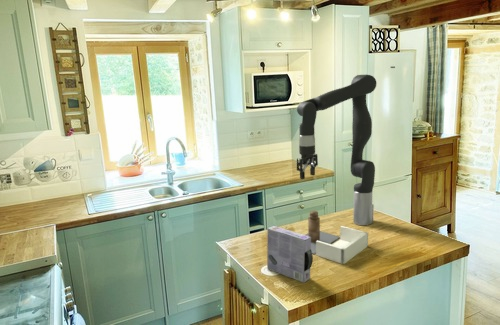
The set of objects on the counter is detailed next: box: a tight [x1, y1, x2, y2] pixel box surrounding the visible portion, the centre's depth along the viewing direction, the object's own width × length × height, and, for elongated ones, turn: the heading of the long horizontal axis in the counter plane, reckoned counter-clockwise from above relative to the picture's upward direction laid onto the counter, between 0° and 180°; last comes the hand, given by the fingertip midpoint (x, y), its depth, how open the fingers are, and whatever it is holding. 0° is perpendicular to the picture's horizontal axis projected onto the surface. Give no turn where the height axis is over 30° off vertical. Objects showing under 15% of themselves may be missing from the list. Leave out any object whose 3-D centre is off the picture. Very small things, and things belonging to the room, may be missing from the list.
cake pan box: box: [266, 225, 314, 284], centre depth 145 cm, size 19×5×18 cm, turn 48°
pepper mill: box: [307, 210, 321, 243], centre depth 172 cm, size 5×5×14 cm
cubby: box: [315, 225, 369, 265], centre depth 163 cm, size 21×13×7 cm, turn 137°
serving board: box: [305, 230, 340, 256], centre depth 173 cm, size 22×14×1 cm, turn 137°
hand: (307, 177), depth 181 cm, fingers open, 8 cm apart
